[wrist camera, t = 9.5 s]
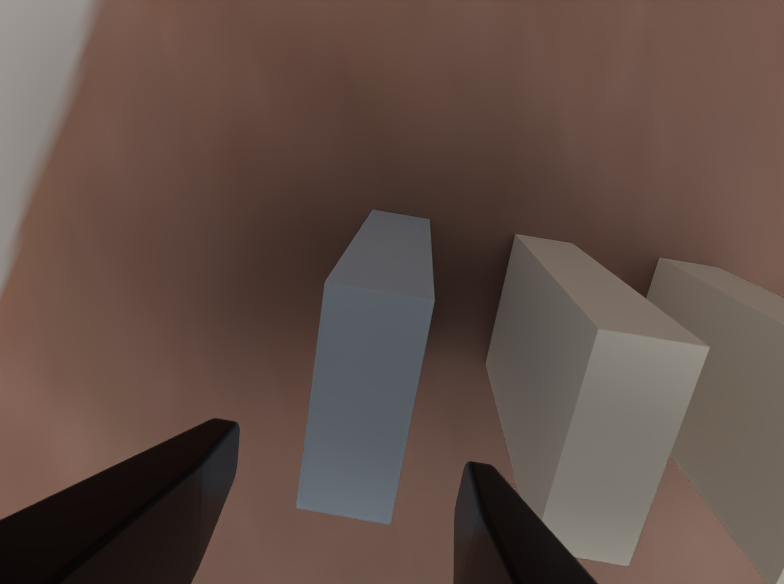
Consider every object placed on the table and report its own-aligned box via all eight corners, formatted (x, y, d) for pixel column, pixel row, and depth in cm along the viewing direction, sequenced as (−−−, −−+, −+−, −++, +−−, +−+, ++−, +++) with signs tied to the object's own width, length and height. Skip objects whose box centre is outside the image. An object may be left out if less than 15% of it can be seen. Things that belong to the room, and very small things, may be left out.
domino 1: (405, 350, 19) (390, 524, 11) (352, 341, 19) (295, 508, 11) (429, 219, 18) (434, 300, 9) (372, 209, 18) (325, 281, 9)
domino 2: (538, 373, 19) (628, 566, 11) (485, 364, 19) (532, 549, 11) (572, 243, 18) (709, 347, 9) (515, 233, 18) (598, 328, 9)
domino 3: (670, 395, 19) (869, 607, 11) (617, 386, 19) (772, 590, 11) (716, 266, 18) (991, 393, 9) (658, 257, 18) (878, 375, 9)
